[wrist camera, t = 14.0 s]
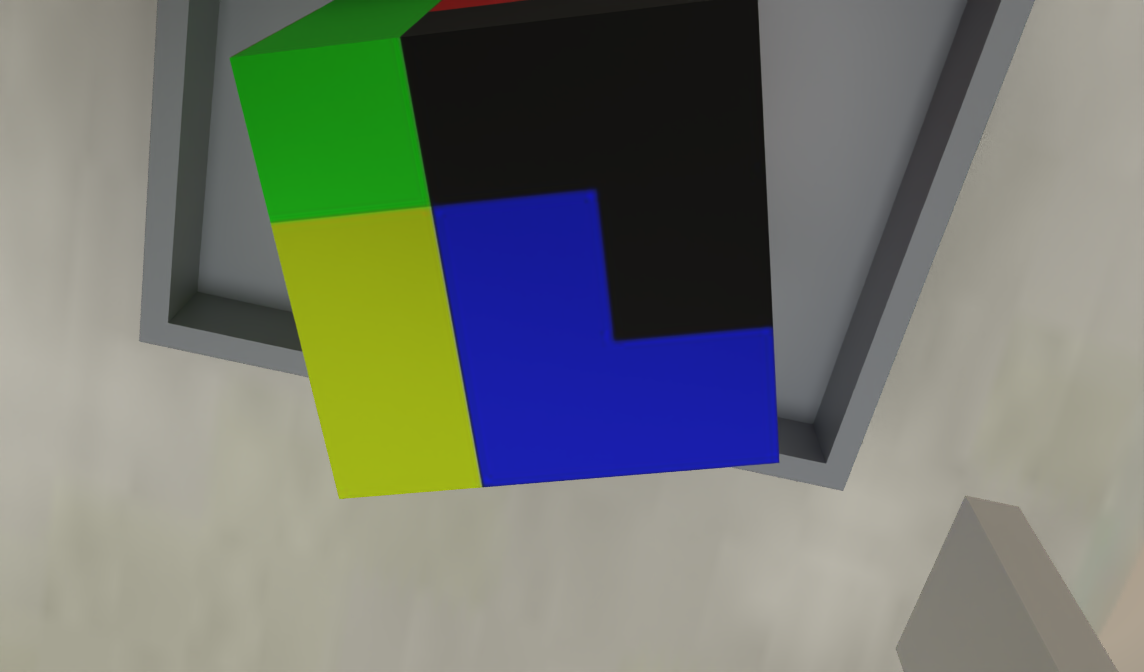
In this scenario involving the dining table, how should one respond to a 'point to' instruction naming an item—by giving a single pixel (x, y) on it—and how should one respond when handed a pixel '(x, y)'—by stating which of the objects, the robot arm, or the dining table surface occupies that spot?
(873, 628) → the dining table surface
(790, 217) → the tray
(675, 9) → the puzzle toy
